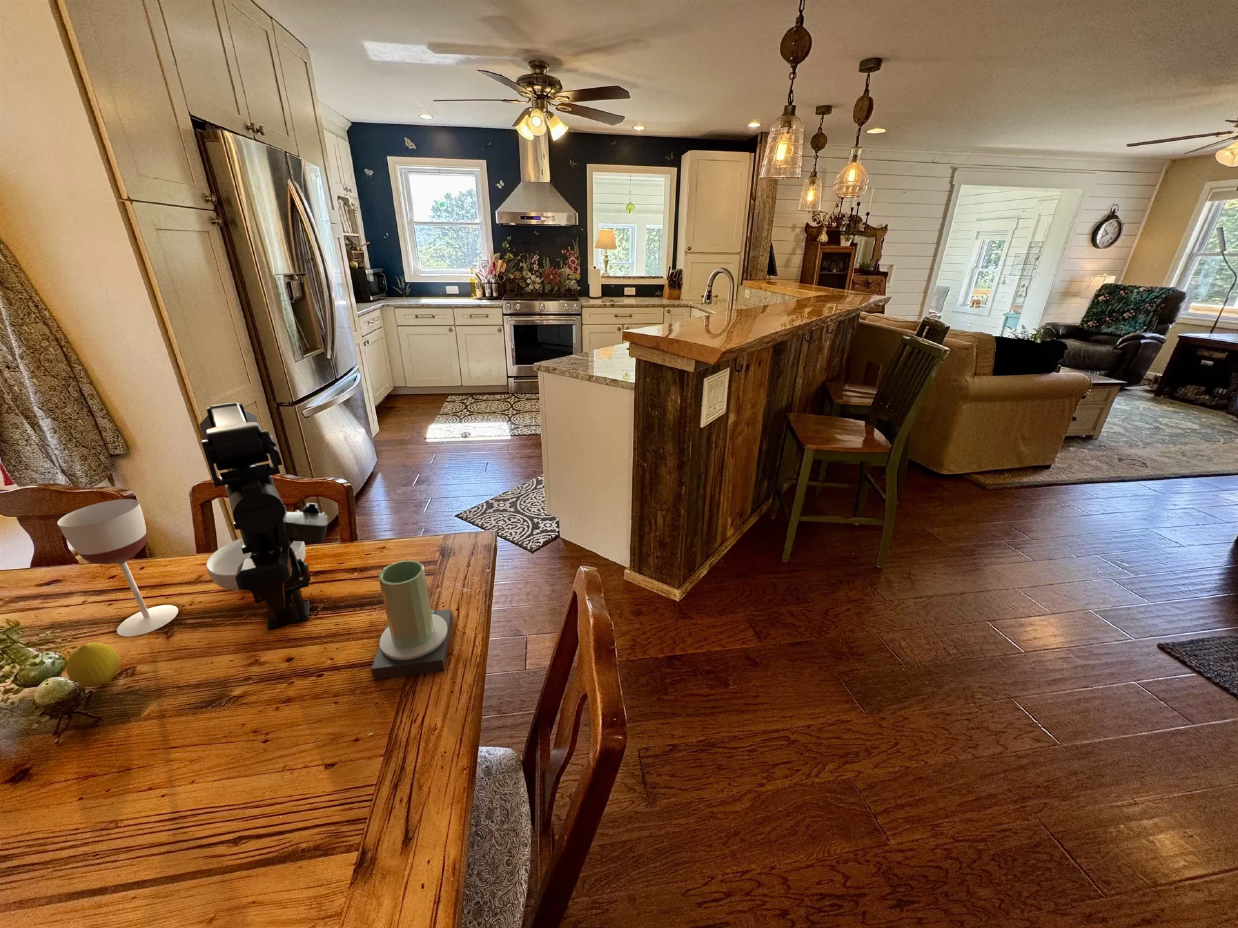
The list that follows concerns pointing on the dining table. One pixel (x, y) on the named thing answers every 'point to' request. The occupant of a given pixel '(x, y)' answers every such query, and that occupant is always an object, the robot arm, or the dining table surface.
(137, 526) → the wineglass
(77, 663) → the lemon
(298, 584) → the robot arm
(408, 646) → the tumbler
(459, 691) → the dining table surface
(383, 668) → the scale
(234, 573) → the cereal bowl
